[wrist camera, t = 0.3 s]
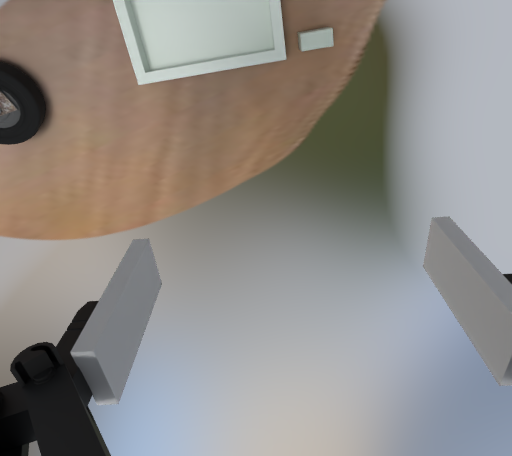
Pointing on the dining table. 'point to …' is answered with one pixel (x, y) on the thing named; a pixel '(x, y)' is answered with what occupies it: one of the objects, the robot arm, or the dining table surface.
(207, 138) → the dining table surface
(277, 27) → the pale green tray
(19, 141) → the caster wheel
